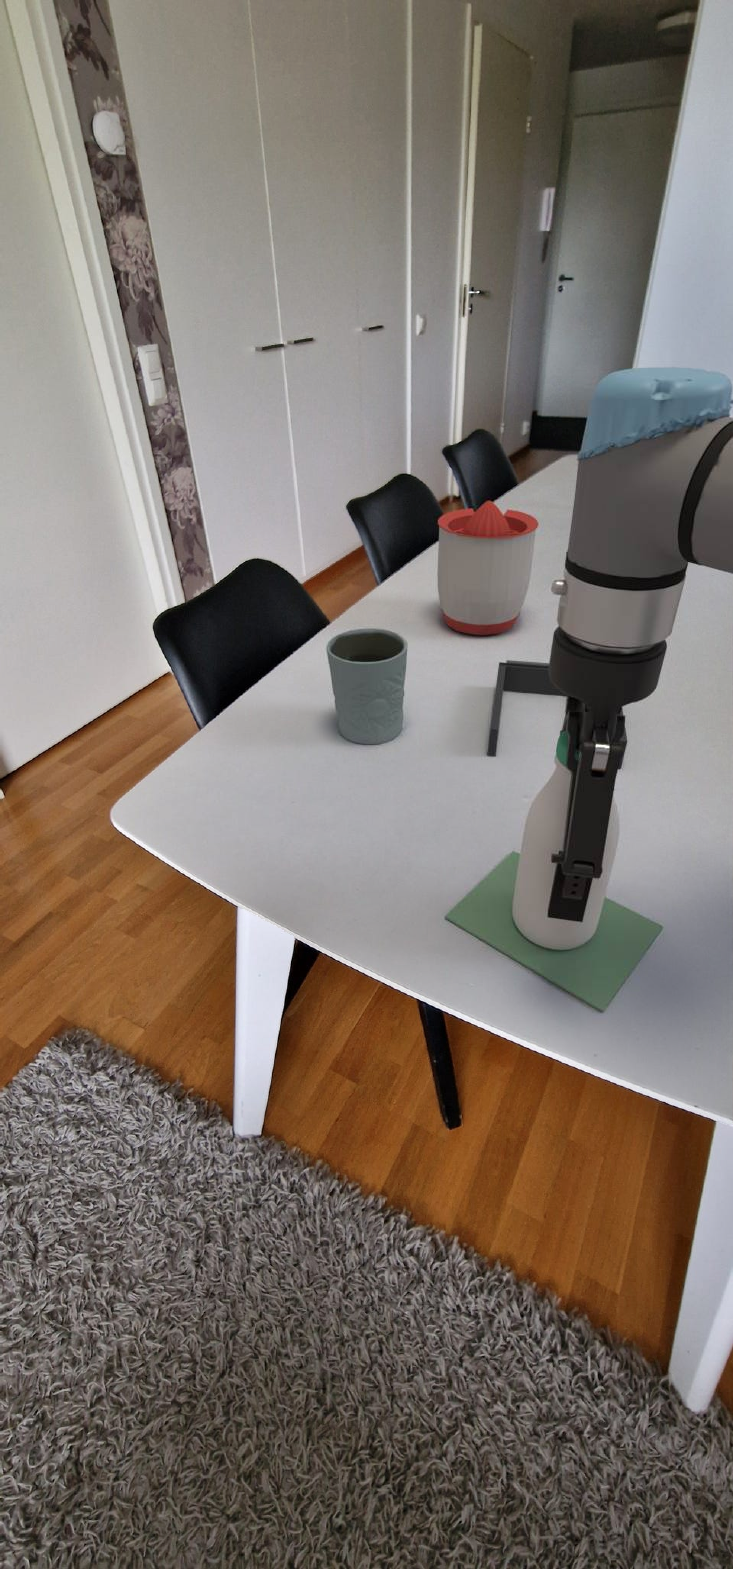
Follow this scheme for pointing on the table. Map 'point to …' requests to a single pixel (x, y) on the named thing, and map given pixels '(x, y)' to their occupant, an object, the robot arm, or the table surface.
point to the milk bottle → (539, 872)
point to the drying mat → (577, 970)
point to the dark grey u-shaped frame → (529, 681)
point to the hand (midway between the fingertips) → (563, 865)
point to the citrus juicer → (484, 567)
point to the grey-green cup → (368, 683)
